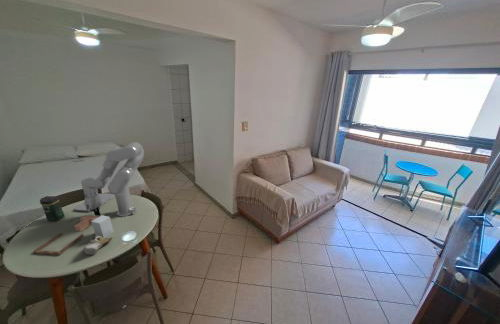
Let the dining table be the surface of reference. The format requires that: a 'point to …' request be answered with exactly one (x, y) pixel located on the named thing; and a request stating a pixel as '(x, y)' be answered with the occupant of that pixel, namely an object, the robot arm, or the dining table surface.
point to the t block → (84, 222)
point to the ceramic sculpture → (96, 244)
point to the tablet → (103, 197)
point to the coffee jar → (52, 208)
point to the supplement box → (102, 226)
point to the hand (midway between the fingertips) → (97, 214)
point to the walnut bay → (39, 251)
